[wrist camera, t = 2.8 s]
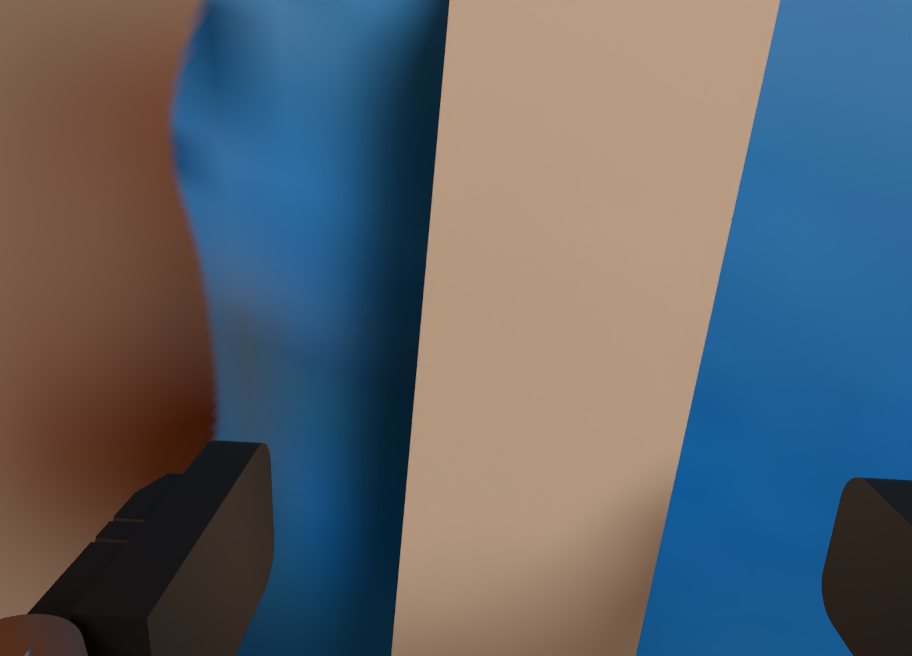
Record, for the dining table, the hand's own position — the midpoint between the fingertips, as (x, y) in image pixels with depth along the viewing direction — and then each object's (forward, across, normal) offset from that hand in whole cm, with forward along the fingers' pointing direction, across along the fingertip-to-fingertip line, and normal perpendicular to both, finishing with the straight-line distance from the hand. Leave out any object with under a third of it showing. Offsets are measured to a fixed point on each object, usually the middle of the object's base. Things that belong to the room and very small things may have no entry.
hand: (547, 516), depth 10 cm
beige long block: (+9, 0, 0) cm, 9 cm away
